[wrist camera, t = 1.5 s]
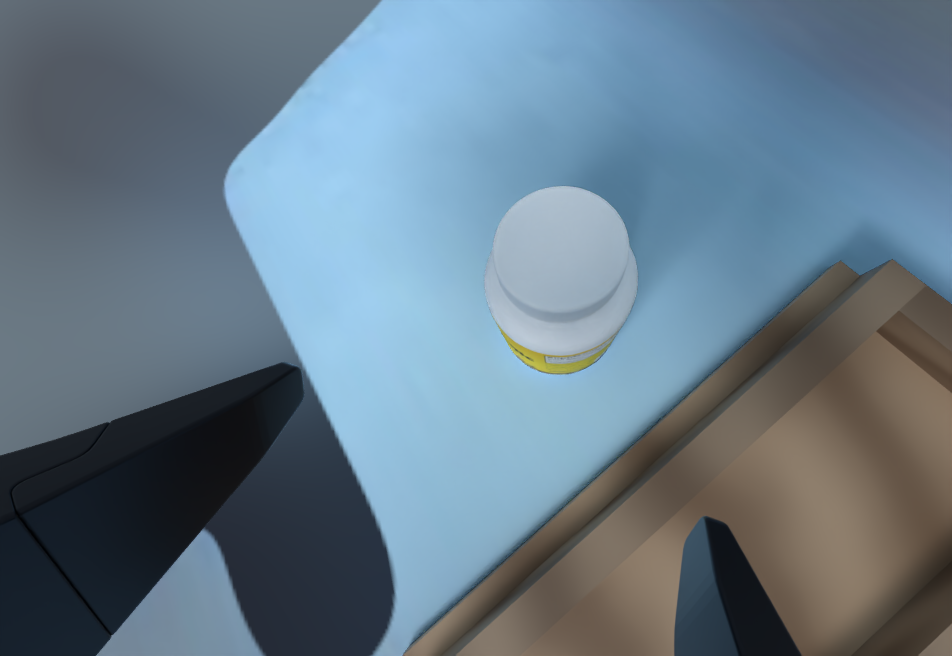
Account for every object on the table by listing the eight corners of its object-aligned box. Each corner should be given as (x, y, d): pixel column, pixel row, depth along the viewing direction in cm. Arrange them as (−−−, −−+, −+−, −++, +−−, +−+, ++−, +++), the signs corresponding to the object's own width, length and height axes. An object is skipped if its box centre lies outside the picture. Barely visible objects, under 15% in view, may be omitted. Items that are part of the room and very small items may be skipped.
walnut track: (618, 967, 17) (631, 1068, 14) (407, 647, 20) (385, 680, 18) (1116, 495, 18) (1218, 506, 15) (830, 266, 21) (870, 242, 19)
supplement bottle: (491, 288, 24) (451, 192, 14) (594, 258, 23) (623, 138, 14) (518, 390, 22) (494, 357, 13) (628, 361, 22) (687, 304, 12)
